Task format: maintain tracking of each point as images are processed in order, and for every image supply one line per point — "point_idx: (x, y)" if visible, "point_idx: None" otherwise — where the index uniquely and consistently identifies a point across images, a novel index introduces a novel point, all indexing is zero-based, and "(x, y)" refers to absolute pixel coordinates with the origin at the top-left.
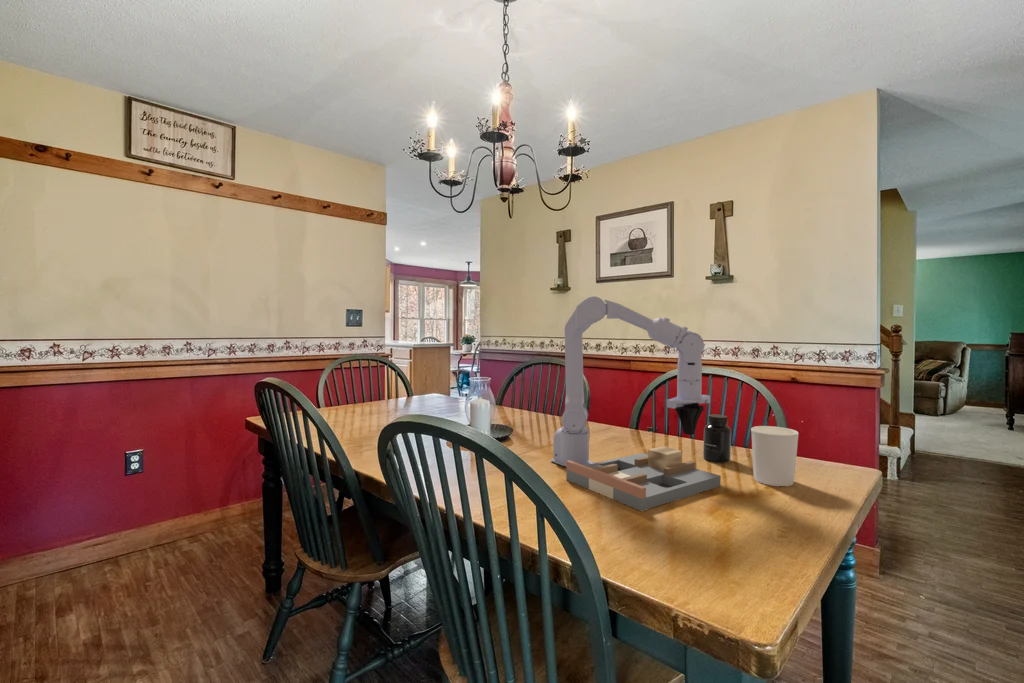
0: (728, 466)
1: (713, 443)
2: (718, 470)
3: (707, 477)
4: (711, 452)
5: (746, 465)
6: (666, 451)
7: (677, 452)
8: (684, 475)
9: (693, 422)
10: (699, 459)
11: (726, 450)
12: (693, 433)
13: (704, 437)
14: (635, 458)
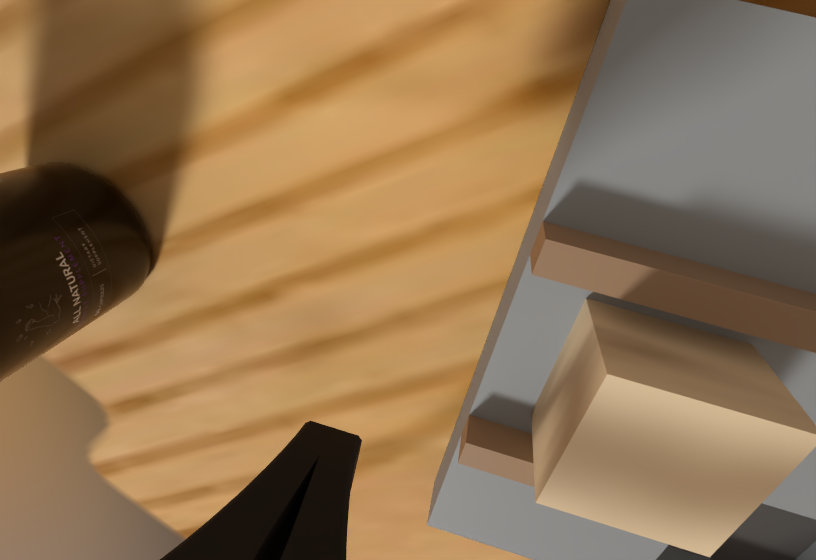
0: (141, 131)
1: (54, 280)
2: (263, 148)
3: (762, 50)
4: (112, 262)
5: (27, 47)
6: (697, 458)
7: (666, 389)
8: (798, 220)
9: (295, 552)
10: (167, 300)
11: (24, 189)
12: (313, 429)
13: (34, 357)
14: (554, 527)
